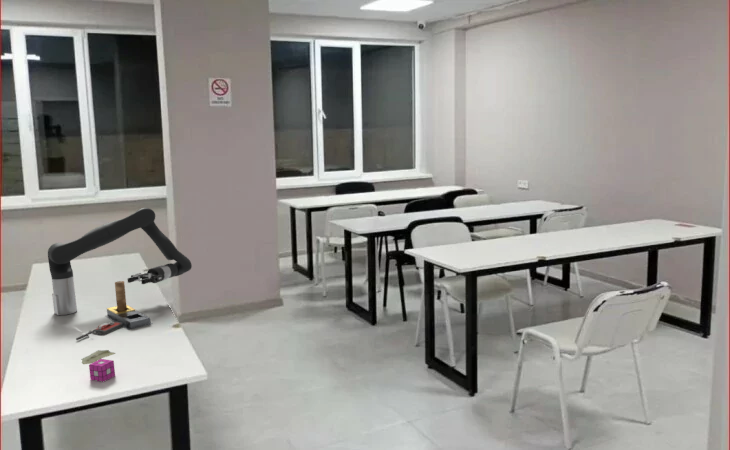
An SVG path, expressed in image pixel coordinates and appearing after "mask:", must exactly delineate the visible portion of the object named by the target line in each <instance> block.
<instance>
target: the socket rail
mask: <svg viewBox="0 0 730 450" xmlns="http://www.w3.org/2000/svg"><path fill="white" fill-rule="evenodd" d="M126 307H127V310H125V311H120V312H117V305H116V306H112V307H111V306H110V307H107V308H106V312H107V314H106V315H105V317H106V318H107V319H109V320H111V322H122V324H123V327H122V328H124V329H125V330H128V331H129V330H134V329H138V328H142V327H146V326H151V325H154V324H153V322H151V318H150V317H149V316H147V315H146V314H144V313H141V312H139V311H138V310H136V309H135V308H133V307H132V306H129V305H127V304H126Z"/></svg>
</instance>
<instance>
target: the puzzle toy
mask: <svg viewBox="0 0 730 450" xmlns="http://www.w3.org/2000/svg"><path fill="white" fill-rule="evenodd" d="M88 367H89V368H88V369H89V379H90V381H93V380H97V381H96V382H99V381H102V382H101V383H104V382H106V381H108V380H111V379H112V378H114V377H116V370H115V362H114V360H112V359H104V358H102V359H100V360H97V361H96V362H94V363H90V364H89V365H88ZM105 380H106V381H105ZM103 381H104V382H103Z"/></svg>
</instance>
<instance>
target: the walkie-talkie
mask: <svg viewBox="0 0 730 450" xmlns="http://www.w3.org/2000/svg"><path fill="white" fill-rule="evenodd" d="M121 328H124V327H123V324H122V322H114V321H109V323H107V322H104V323H101V324H99V325H98V327H95V328H93V329H89V330H88V332H87V333H85V334H82V335H80V336H78V337H76V338H75V340H76V341H79V340H81V339H84V338H85V337H89V335H91V334H95V335H98V336H105V335H108V334H110V333H112V332H113V331H116V330H118V329H121Z"/></svg>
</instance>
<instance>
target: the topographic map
mask: <svg viewBox="0 0 730 450" xmlns="http://www.w3.org/2000/svg"><path fill="white" fill-rule="evenodd" d="M115 354H116V352H112V351H110V350H109V349H105V350H104V349H103V350H101V349H98V350H95V351H94V352H92V353H91V354H89V355H87V356H84V357H83V358H81V364H82V365H88V364H89V365H90V364H92V363H94V362H96V361H98V360H100V359H104V358H107V357H110V356H112V355H115Z"/></svg>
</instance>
